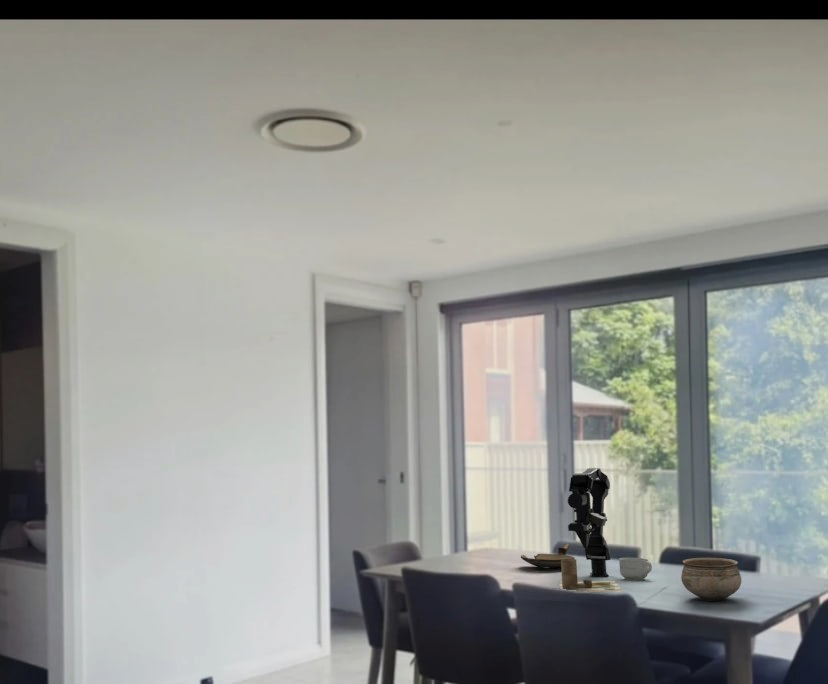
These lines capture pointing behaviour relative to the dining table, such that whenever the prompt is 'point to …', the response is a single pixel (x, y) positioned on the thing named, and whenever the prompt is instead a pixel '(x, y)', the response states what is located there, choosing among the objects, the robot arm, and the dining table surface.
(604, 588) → the dial board
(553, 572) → the dining table surface
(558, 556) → the oil lamp
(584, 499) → the robot arm
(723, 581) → the cooking pot
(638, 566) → the teacup
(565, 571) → the brown piece
